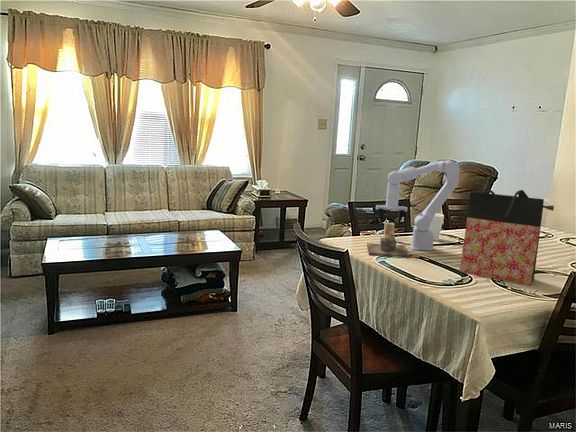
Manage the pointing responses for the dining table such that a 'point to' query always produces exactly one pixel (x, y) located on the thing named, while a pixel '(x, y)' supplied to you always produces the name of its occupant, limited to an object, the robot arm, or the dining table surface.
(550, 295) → the dining table surface
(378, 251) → the stand base
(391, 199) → the robot arm
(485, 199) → the gift bag
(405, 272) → the dining table surface
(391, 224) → the post
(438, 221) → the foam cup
